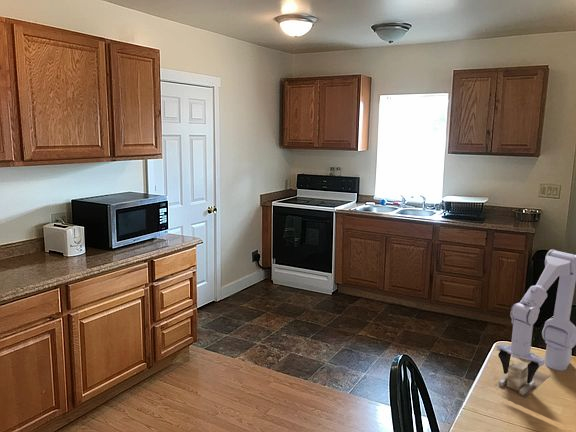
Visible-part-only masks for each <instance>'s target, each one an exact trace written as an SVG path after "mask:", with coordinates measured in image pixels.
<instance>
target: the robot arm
mask: <svg viewBox="0 0 576 432" xmlns="http://www.w3.org/2000/svg"><path fill="white" fill-rule="evenodd" d="M558 277H559V280H558V284H557V291H556V297H555V298H556V299H555V304H554V311H553V316H552V317H551V318H549V319H547V320H546V321H544V326H543V329H542V331H541V336H542V339H543V340H544V343H545V344H546V346H545V347H546V348H545V355H544V358H543V357H541V356H539V355H538V354H537V355H536V354H535V353H533V352H531V349H530V348H532V347H531V346H532V338H533V329H534V325H535V323H536V322H537V320H538V318H539V314H540V312H541V310H540V308H541V307H542V305H543V304H544V302H545V300H546V299H547V298H548V292H547V291H549V289H550V287H551V286H552V285H553V284H554V283H555V281H556V280H557V279H558ZM575 287H576V254H573V253H568V252H564V251H559V250H556V249H554V248H553V249H550V250H548V251H547V253H546V255H545V259H544V269H543V271H542V273H541V274H540V276H539V278H538V280H537V282H536V284H535V285H531V286H530V287H529V288H528V289H527V291H526V293H525V294H524V295H523V297H522V298H521V300H520V302H517V303H514V304H513V305H512V306H511V310H510V318H511V324H512V334H511V345H508V344H504V343H499V344H497V345H496V351H498V355H497V356H498V358H499V360H500V362H501V366H502V369H503V374H504V375H508V367H509V366H510V362H511V357H512V358H516V359H521V360H522V359H523V360H525V361H529V363H528V364H527V366H528V377H527V383H530V382H532V379H533V376H534V374H535V372H536V371H538V369H539V368H540V367H543V366H544V365H545V366H546V367H547V368H550V369H552V370H554V371H555V370H556V371H565V370H567V369H568V366H569V365H570V364H571V360H572V351H573V350H572V349H573V348H575V346H576V326H575V324H573V322H572V321H571V320H570V318H571V314H572V313H571V312H572V306H573V300H574V299H573V298H574V294H575V289H576V288H575Z"/></svg>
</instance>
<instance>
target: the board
mask: <svg viewBox="0 0 576 432" xmlns="http://www.w3.org/2000/svg"><path fill="white" fill-rule="evenodd" d="M507 377H508V374H506V375H505V376H503V378H501V379H500V380H499V381H497V382H496V383H495V384H494V386H496V387H497V388H500V389H502V390H504V391H507V392H510V393H512V394H515V395H516V396H519V397H522V398H523V399H526V398H527V397H528V396H529V395H531V393H533V391H534V390H536V389H537V388H538V387H539V386H541V385H542V384H543V383H544V382H545V381H546V380H547V379H548V378H549V377H550V375H548V374H546V373H543V372H540V371H538V370H537V371H536V372H535V374H534V376H533V379H532V382H530V383H527V384H526V385H524V386H523V387H522V388H521V389H520V391H517V390H515V389H513V388H510V387H508V386H507Z"/></svg>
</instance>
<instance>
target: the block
mask: <svg viewBox="0 0 576 432" xmlns="http://www.w3.org/2000/svg"><path fill="white" fill-rule="evenodd" d="M527 365H528V364H526V363H524V362H521V361H518V360H516V361H515V362H512V364H509V367H508V373H507V375H508V377H507V386H508V387H510V388H513V389H515V390H517V391H520V389H521V388H522V387H523V386H524V385H526V384H527V377H528V366H527Z"/></svg>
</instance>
